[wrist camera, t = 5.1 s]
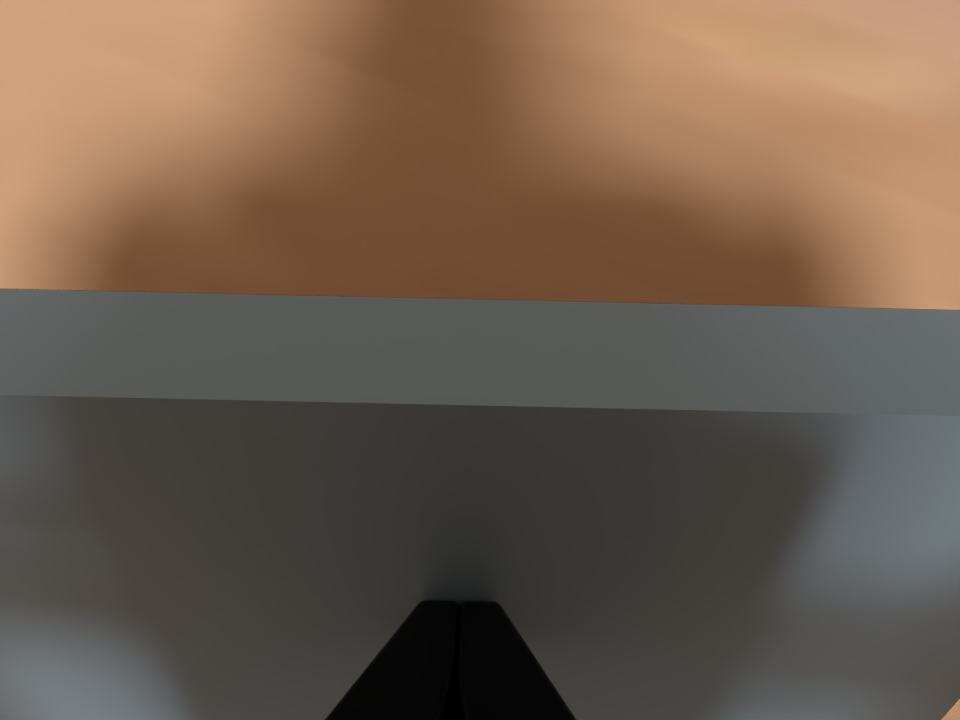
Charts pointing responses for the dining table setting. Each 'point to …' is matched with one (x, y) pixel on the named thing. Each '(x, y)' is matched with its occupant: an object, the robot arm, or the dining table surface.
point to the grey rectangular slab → (476, 501)
